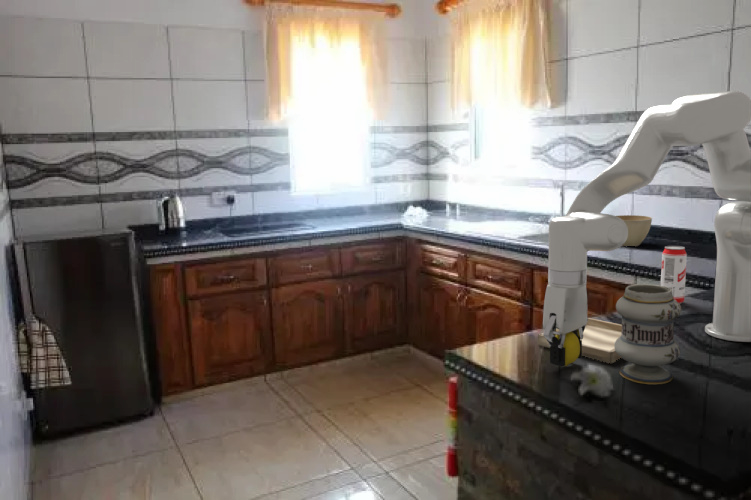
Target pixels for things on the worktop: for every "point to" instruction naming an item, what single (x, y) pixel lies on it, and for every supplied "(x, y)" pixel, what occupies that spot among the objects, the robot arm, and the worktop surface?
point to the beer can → (674, 271)
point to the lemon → (570, 347)
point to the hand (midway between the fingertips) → (565, 359)
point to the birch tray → (596, 340)
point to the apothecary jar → (647, 333)
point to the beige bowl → (636, 228)
